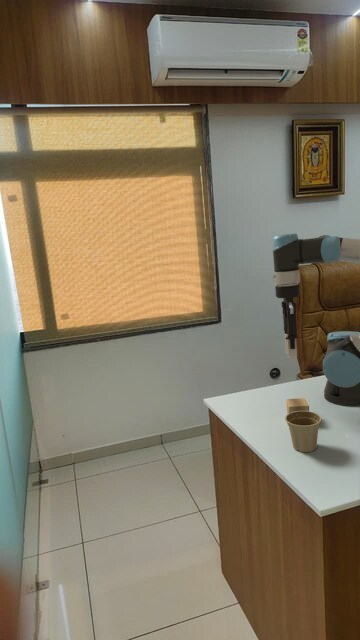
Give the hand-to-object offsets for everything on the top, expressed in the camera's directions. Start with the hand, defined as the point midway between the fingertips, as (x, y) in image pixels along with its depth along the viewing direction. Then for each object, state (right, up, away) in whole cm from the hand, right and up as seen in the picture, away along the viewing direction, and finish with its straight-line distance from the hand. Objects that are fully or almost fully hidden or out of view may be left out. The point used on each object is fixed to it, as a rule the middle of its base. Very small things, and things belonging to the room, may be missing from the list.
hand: (291, 355), depth 134 cm
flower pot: (-2, -24, -20) cm, 31 cm away
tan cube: (+1, -20, -4) cm, 20 cm away
